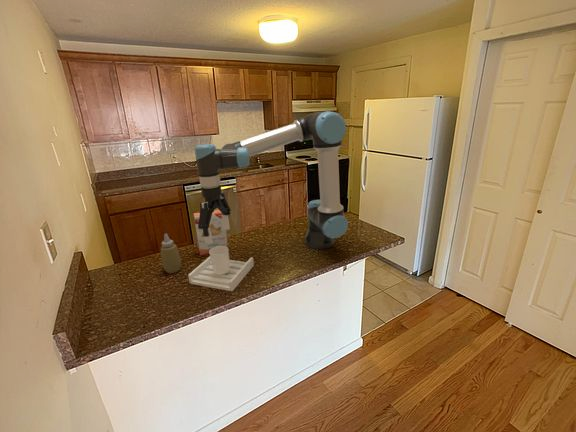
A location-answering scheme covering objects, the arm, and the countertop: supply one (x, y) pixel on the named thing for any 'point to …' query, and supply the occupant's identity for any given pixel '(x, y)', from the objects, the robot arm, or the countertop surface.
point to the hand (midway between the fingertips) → (218, 235)
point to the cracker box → (216, 233)
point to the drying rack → (226, 281)
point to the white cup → (220, 259)
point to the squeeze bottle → (170, 256)
